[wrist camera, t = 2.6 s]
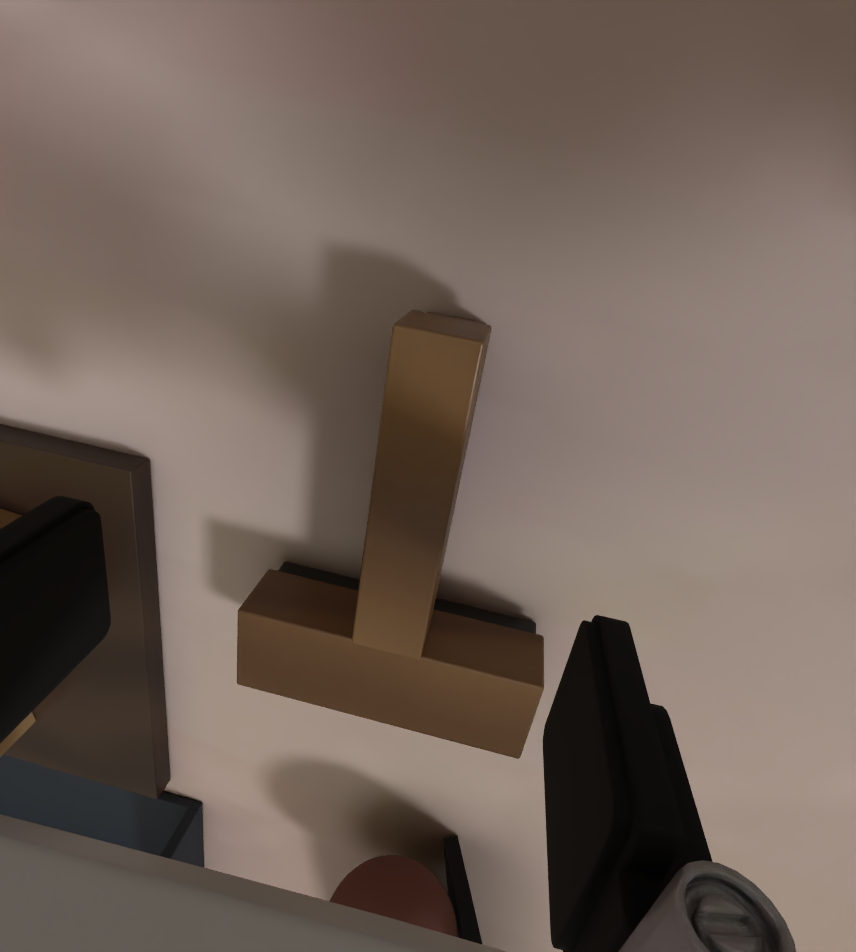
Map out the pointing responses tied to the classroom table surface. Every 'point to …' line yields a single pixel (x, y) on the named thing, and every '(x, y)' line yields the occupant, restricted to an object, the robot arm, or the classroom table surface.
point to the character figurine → (414, 893)
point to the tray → (132, 619)
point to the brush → (403, 577)
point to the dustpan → (102, 811)
